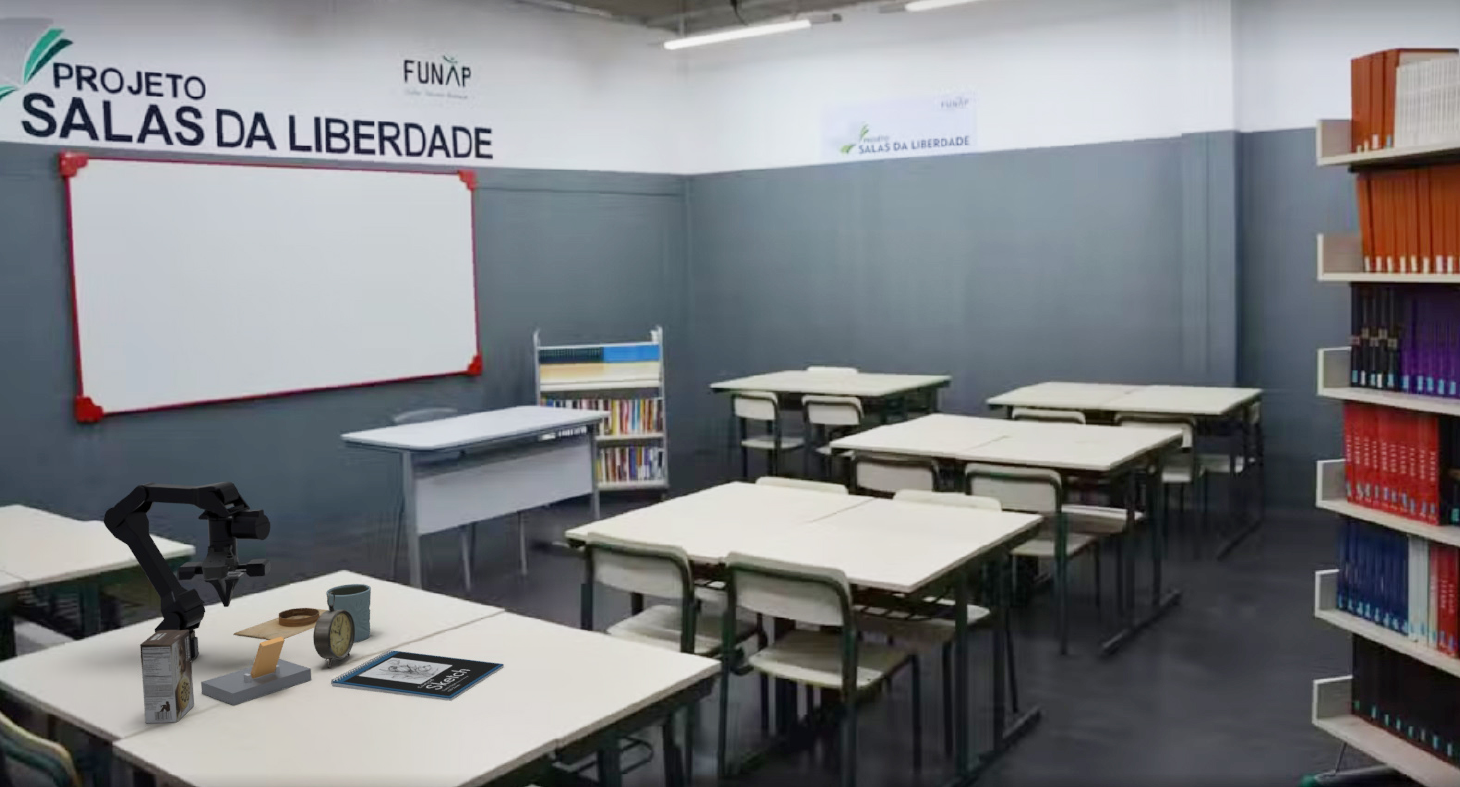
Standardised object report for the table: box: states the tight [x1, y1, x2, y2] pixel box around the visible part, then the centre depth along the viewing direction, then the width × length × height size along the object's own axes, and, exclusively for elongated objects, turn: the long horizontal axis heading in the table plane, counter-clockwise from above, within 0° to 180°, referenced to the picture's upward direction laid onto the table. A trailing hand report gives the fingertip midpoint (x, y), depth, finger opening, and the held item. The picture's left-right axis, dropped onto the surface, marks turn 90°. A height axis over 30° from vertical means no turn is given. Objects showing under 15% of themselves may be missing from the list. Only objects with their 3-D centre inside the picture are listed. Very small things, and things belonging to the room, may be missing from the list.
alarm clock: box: [312, 592, 355, 669], centre depth 258 cm, size 11×5×16 cm, turn 168°
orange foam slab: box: [250, 637, 286, 679], centre depth 241 cm, size 1×5×9 cm
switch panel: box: [200, 658, 312, 706], centre depth 244 cm, size 12×18×4 cm, turn 144°
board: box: [233, 607, 328, 641], centre depth 289 cm, size 25×15×3 cm, turn 157°
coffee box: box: [139, 630, 195, 724], centre depth 228 cm, size 9×6×16 cm
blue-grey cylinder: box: [325, 583, 372, 643], centre depth 276 cm, size 10×10×12 cm
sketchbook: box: [330, 649, 505, 702], centre depth 249 cm, size 22×30×2 cm
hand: (226, 606), depth 258 cm, fingers closed
